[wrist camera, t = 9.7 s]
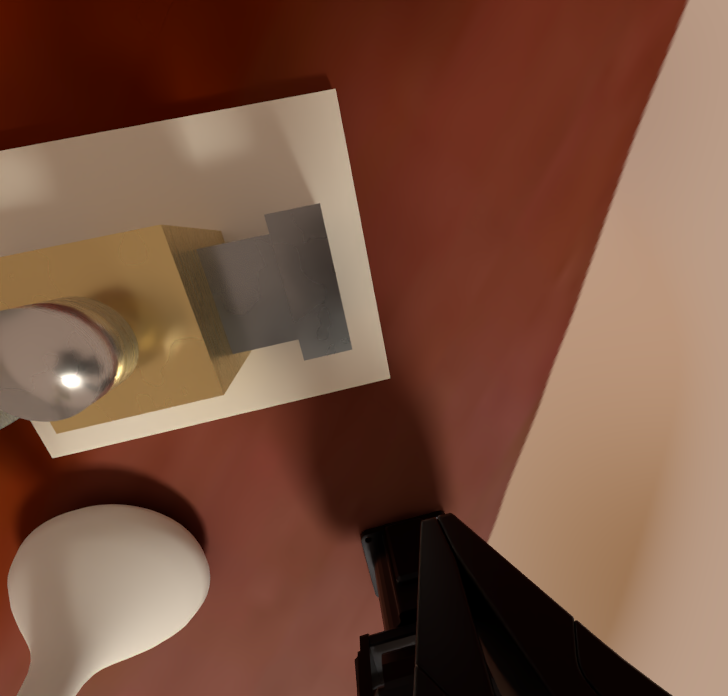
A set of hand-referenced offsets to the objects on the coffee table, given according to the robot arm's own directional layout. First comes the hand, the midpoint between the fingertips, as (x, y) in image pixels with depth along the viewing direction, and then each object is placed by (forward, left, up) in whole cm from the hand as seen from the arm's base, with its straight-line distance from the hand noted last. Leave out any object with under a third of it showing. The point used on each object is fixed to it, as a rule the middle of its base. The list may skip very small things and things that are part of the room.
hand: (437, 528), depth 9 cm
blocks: (+6, +9, -12) cm, 16 cm away
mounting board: (+6, +9, -13) cm, 17 cm away
